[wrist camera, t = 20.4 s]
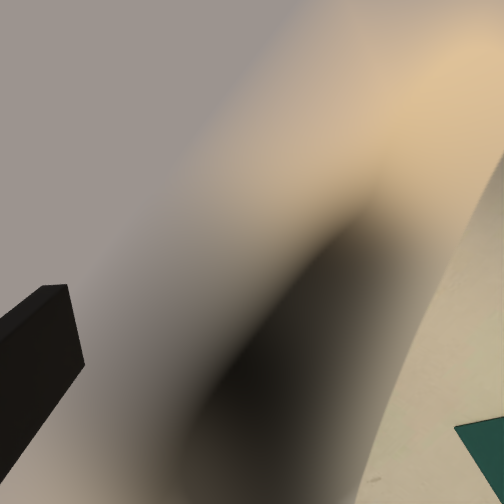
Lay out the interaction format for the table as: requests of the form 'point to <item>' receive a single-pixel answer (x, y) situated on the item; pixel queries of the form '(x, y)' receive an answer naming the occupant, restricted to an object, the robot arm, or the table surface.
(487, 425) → the mat
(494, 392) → the table surface
